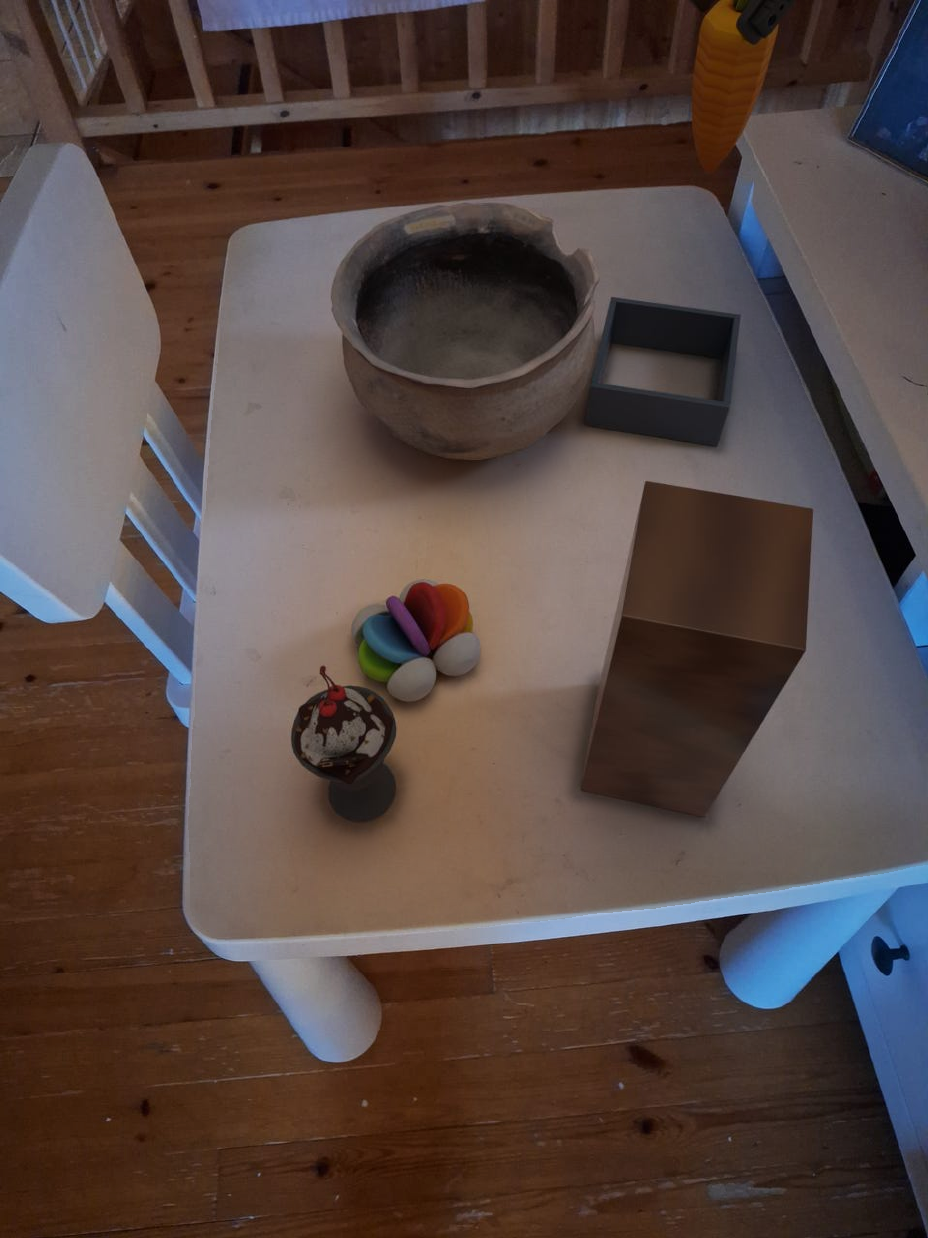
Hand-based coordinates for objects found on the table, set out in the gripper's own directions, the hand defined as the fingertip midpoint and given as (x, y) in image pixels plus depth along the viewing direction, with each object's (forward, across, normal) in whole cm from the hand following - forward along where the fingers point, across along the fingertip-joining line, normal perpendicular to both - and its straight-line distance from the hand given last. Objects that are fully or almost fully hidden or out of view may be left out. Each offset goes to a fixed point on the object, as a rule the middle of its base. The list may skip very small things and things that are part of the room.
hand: (719, 18), depth 58 cm
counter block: (+39, +29, +8) cm, 49 cm away
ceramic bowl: (+34, -7, +12) cm, 37 cm away
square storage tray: (+22, 0, +24) cm, 33 cm away
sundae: (+53, +20, -6) cm, 57 cm away
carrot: (+7, 0, +9) cm, 11 cm away
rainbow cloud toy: (+46, +13, +1) cm, 48 cm away
